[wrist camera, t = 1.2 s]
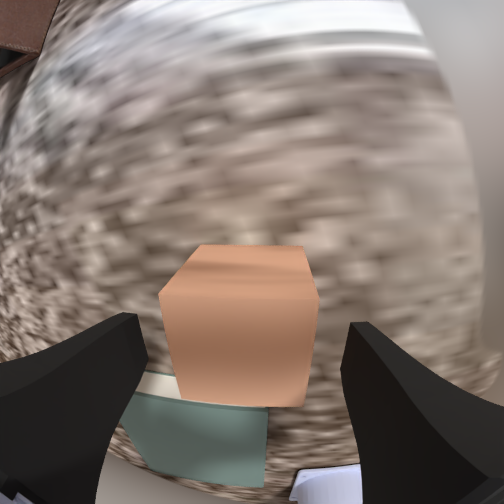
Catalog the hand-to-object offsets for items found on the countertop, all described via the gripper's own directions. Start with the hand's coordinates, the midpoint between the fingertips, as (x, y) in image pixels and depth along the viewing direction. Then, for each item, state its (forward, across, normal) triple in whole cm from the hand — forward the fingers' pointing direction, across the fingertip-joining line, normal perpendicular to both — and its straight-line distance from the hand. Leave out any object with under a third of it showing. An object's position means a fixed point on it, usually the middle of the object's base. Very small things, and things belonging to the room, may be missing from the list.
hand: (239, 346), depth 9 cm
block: (+4, 0, 0) cm, 4 cm away
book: (+4, +4, +12) cm, 14 cm away
